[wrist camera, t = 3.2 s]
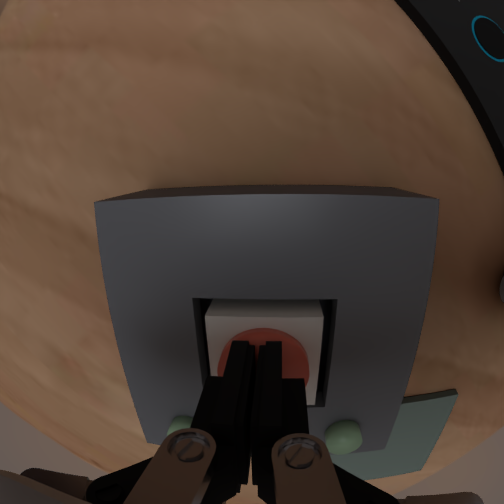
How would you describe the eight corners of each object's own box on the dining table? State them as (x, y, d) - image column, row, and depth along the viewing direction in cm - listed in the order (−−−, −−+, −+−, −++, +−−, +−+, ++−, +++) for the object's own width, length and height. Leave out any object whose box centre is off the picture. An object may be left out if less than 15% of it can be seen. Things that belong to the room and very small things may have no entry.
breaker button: (315, 284, 13) (325, 325, 10) (309, 363, 14) (315, 414, 11) (220, 284, 13) (200, 323, 10) (225, 361, 15) (211, 412, 11)
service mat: (455, 389, 17) (458, 394, 16) (419, 465, 19) (421, 470, 19) (285, 405, 18) (285, 411, 17) (280, 479, 20) (280, 485, 20)
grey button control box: (391, 187, 14) (450, 202, 8) (366, 390, 17) (387, 460, 12) (147, 189, 15) (82, 205, 9) (173, 386, 18) (142, 453, 13)
